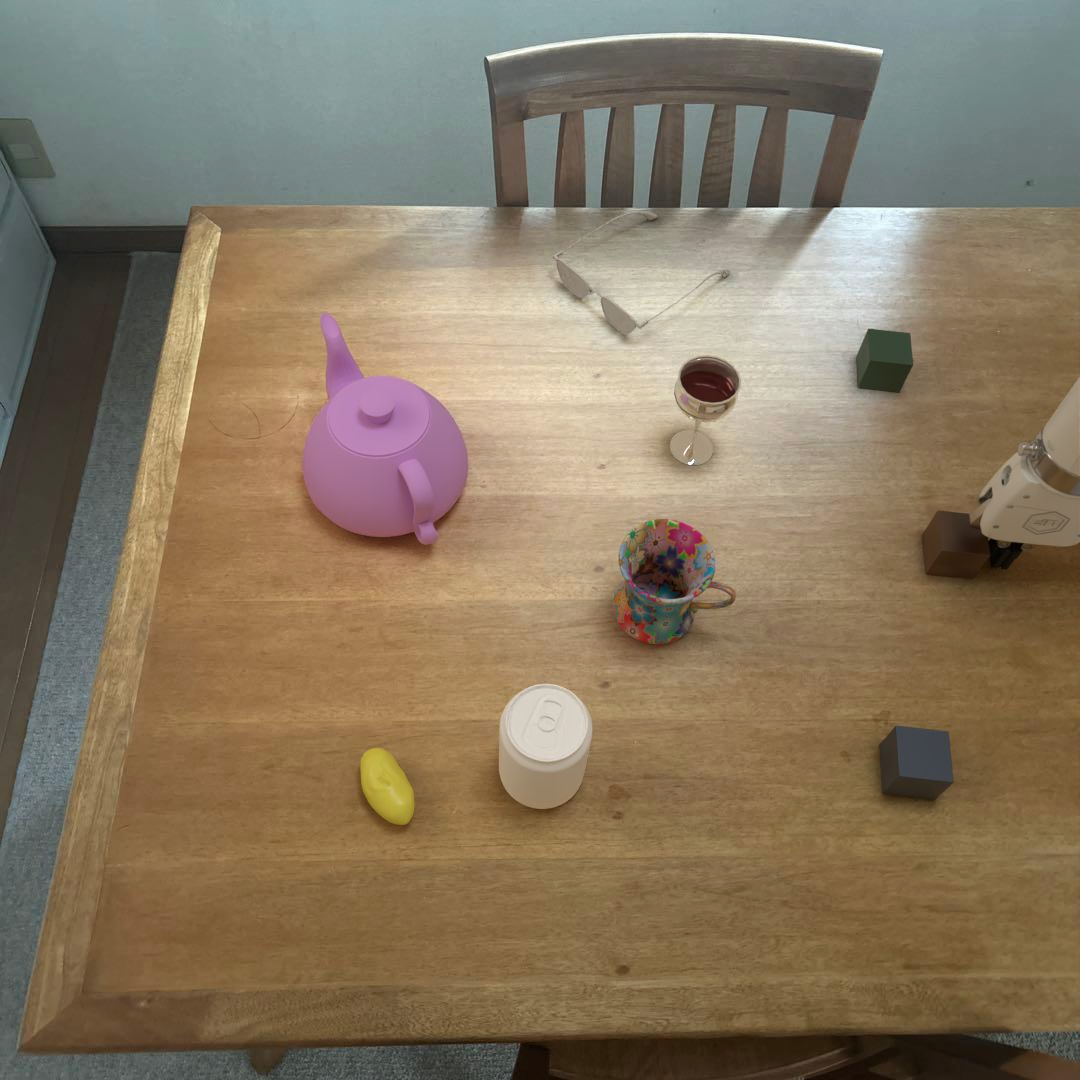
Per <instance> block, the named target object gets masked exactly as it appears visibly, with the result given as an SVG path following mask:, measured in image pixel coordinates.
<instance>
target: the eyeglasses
mask: <svg viewBox="0 0 1080 1080" xmlns="http://www.w3.org/2000/svg"><path fill="white" fill-rule="evenodd" d="M630 215H642V216H644V217H645V219H646V220H648V221H653V220H655V219H657V218H658V215H657V214H656V213H653V212H652V211H644V210H643V211H642V210H641V211H640V210H639V211H637V210H636V211H630V212H626V213H623V214H619V215H618V216H616V217H614V218H612V219H610V220H609V221H608V222H606V223H604V224H602V225H601V226H599V227H597V228H595V229H594V230H592V231H591V232H589V233H588V234H586V235H585V236H583V237H581V238H579V239H578V240H577V241H575V242H574V243H573V244H571V245H570V246H568V247H567V248H565V249H564V250H559V251H558V252H557V253H555V254H553V255H552V259H553V260H554V261H555V263H556V268H557V272H558V275H559V278H560V280H561V283H562V284H563V285H564V287H565V288H566V289H567V290H568V291H569V292H570V293H572V295H574V296H575V297H577V298H579V299H584V298H585V297H587V296H588V295H589V294H592V292H593V293H594V294H596V295H597V296H598V297H600V305H601V309H602V312H603V316H604V318H605V320H606V321H607V322H608V324H610V325H611V327H613V328H614V329H615V330H616V331H618V332H619V333H621V334H622V335H630V334H631V333H632V332H634V331H635V329H636V328H637V329H638V330H641V329H642V328H644V327H645V326H647V325H649V322H651V320H653V319H656V317H658V316H659V315H661V314H663V313H664V312H666V311H667V310H669V309H670V308H671V307H673V306H675V305H676V304H677V303H679V302H680V301H682V300H683V299H685V298H686V297H687V296H689V295H690V294H692V293H693V292H694V291H695V290H698V288H699V287H701V286H702V285H703V284H704V283H705V282H706V281H708V280H709V279H711V278H712V277H714V276H716V275H721V276H722V277H723V278H726V277H727V276H729V275H730V274H731V269H728V268H725V269H721V270H717V271H715V272H713V273H711V274H710V275H708V276H707V277H706V278H704V279H703V280H702V281H701V282H700V283H698V284H697V285H696V286H695V287H694V288H693V289H692V290H690V291H689V292H688V293H686V294H685V295H684V296H683V297H681V298H680V299H678V300H677V301H676V302H674V303H673V304H671V305H669V306H668V307H667V308H665V309H664V310H662V311H660V312H659V313H657V314H656V315H655V316H653V317H651V318H650V319H646V320H644V321H643V322H641V323H640V322H638V321H636V319H635V318H634V317H633V316H632V315H631V314H629V312H627V310H625V309H624V308H623V307H621V306H620V305H619V304H617V303H616V302H615V301H613V300H612V299H611V298H609V297H607V296H605V295H602V294H601V292H600V291H599V290H598V289H596V288H594V287H593V286H591V285H590V284H589V282H588V281H587V279H586V278H585V277H584V276H583V275H581V274H580V273H579V272H578V271H577V270H576V269H574V268H573V267H572V266H571V265H570V264H569V263H567V262H566V261H565V260H563V259H561V258H560V257H561V256H563V254H564V253H565V252H566V251H568V250H569V249H570V248H571V247H573V246H575V245H576V244H577V243H579V242H580V241H582V240H583V239H585V238H586V237H589V235H591V234H592V233H594V232H596V231H597V230H599V229H601V228H602V227H604V226H606V225H608V224H609V223H612V222H614V221H616V220H618V219H620V218H623V217H626V216H630Z"/></svg>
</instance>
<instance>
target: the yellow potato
mask: <svg viewBox="0 0 1080 1080" xmlns="http://www.w3.org/2000/svg"><path fill="white" fill-rule="evenodd" d="M359 763H360V764H359V769H360V785H361V789H362V792H363V795H364V797H365V798H366V799H365V800H367V802H368V804H369V805H370V807H372V809H373V810H374V811H375V813H377V814H378V815H379V816H380V817H381V818H383V819H384V820H385V821H387V822H388V823H390V824H393V825H396V826H397V825H398V826H405V825H407V824H409V823H410V821H411V820H412V818H413V816H414V812H415V792H414V789H413V787H412V785H411V784H410V782H409V780H408V777H407V773H405V772H404V770H403V769H402V768H401V767H400V765H399V764H398V762H397V760H396V759H395V757H394V755H393V754H391V753H390V751H388V750H387V749H385V748H381V747H374V748H370V749H368V750H366V751H365V752H364V753H363V754H362V757H361V759H360V762H359Z"/></svg>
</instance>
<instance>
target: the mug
mask: <svg viewBox="0 0 1080 1080" xmlns="http://www.w3.org/2000/svg"><path fill="white" fill-rule="evenodd" d="M618 567H619V571H620V573H621V575H622V578H623V579H624V580H622V582H620V584H619V585H618V586H617V589H616V590H615V592H614V595H613V600H612V611H613V614H614V617H615V619H616V621H617V624H618V625H619V627H620V628H621V630H623V631H624V632H625V634H627V635H628V636H630V637H631V638H633V639H635V640H637V641H639V642H642V643H644V644H648V645H649V644H650V645H664V644H668V643H671V642H675V641H677V640H678V639H681V637H683V636H684V635H685V634H686V633H687V632H688V631H689V629H691V627H692V625H693V623H694V620H695V617H696V614H697V613H698V610H719V609H724V608H727V607H729V606H731V605H733V604H734V602H735V601H736V599H737V593H736V591H735V590H734V588H732V587H731V586H730V585H728V584H726V583H724V582H720V581H713V579H714V576H715V572H716V558H715V553H714V550H713V547H712V546H711V545H710V542H709V541H708V539H707V538H706V537H705V536H704V535H703V534H702V533H701V532H700V531H699V530H697V529H696V528H695V527H693V526H692V525H689V524H687V523H685V522H682V521H679V520H675V519H669V518H658V519H651V520H647V521H645V522H642V523H640V524H638V525H637V526H635V527H633V528H632V529H631V530H630V531H629V532H628V533H627V534H625V536H624V537H623V539H622V541H621V544H620V546H619V551H618ZM707 589H713V590H714V589H715V590H719V591H722V592H724V593H726V594H728V595H729V596H730V598H728V599H725V600H723V601H717V602H716V601H715V602H702V601H701V602H699V601H695V600H694V599H696V598H697V597H699V596H701V595H702V594H703V593H704V592H705V591H706V590H707Z"/></svg>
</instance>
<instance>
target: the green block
mask: <svg viewBox="0 0 1080 1080" xmlns="http://www.w3.org/2000/svg"><path fill="white" fill-rule="evenodd" d="M913 357H914V356H913V348H912V337H911V332H906V331H905V332H904V331H896V330H887V329H886V330H885V329H877V328H868V329H867V330H866V332H865V335H864V338H863V340H862V342H861V345H860V346H859V349H858V351H857V354H856V356H855V361H856V363H855V364H856V377H857V388H858V389H865V390H873V391H883V392H893V393H900V392H901V390H902V389H903V386H904V384H905V382H906V380H907V379H908V377H909V374H910V372H911V370H912V369H913V366H914V359H913Z"/></svg>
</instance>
